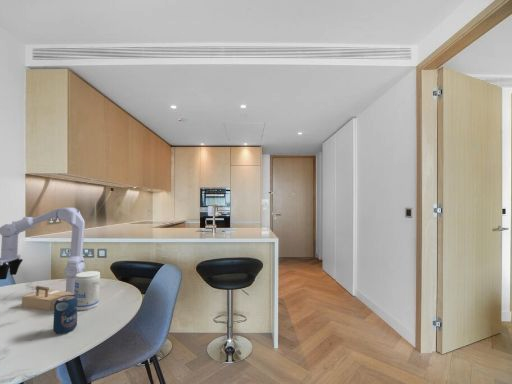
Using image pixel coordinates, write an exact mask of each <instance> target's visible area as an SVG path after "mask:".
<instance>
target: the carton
mask: <svg viewBox="0 0 512 384" xmlns="http://www.w3.org/2000/svg"><path fill="white" fill-rule="evenodd" d="M34 293H36V291H35V292H34ZM39 293H40V294H45V290H39ZM48 295H56V296H65V295H72V292H66V290H65V291H63V290H56V289H55V290H53V289H49V290H48ZM56 301H57V299H55V300H52V301H45V300H38V299H30V298H23V297H22V298H21V307H22V308H29V309H36V310H44V311H54V304H55V302H56Z"/></svg>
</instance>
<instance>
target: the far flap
mask: <svg viewBox="0 0 512 384" xmlns="http://www.w3.org/2000/svg"><path fill="white" fill-rule="evenodd" d="M41 290H45V294H40V293H39V291H41ZM48 290H50V287H48V286H43V285H42V286H41V285H36V286H35V292H36V293H35V292H32V293H29V294H26V295H23V296H22V298H30V299H38V300H45V301H52V300H55V299H57V298H59V297H61V296H56V295H48Z"/></svg>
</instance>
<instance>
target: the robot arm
mask: <svg viewBox="0 0 512 384" xmlns="http://www.w3.org/2000/svg"><path fill="white" fill-rule="evenodd" d="M51 219H59V220H61V221H64V222H65V223H68V224H69V225H70V226H71V227H72V230H71V241H70V251H69V258H68V260H67V264H66V267H65V268H64V275H66V278H65V279H66V281H65V292H72V295H74V287H75V277H76V274H78V273H82V272H84V270H85V268H86V263H85V260H84V259H85V258H84V256H83V252H84V249H83V248H84V239H85V238H84V236H85V227H86V226H85V225H86V222H85V220H84V217H83V216H82V214H81V211H80V210H79V209H77V208H76V207H74V206H70V207H61V208H57V209H54V210H53V209H52V210H50V211H48V212H44V213H43V214H40V215H37V216H36V217H32V216H24V217H22V218H21V219H20V220H19V219H18V220H14V221H13V220H12V222H11V223H5V224H4V225H1V227H0V236H1V252H0V280H7V278H8V275H9V274H10V276H14V275H17V273H18V271H19V267H20V265H21V264H22V263H23V260H24V259H22V256H21V254H18V251H19V250H18V247H19V245H18V244H19V234H20V233H22V232H26V231H28V230H32V229H34V228H36V226H37V224H40V223H42V222H45V221H48V220H51ZM8 272H9V274H8Z"/></svg>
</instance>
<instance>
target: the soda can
mask: <svg viewBox="0 0 512 384" xmlns="http://www.w3.org/2000/svg"><path fill="white" fill-rule="evenodd" d="M77 305H78V300H77V298H76V295H65V296H61V297H59V298H57V301H56V302H55V304H54V309H53V326H52V327H53V328H52V330H53V332H54V333H55V335H58V336H60V335H61V336H62V335H67V334H69V333H72V332H73V331H75V329H76V328H77V326H78V310H77Z"/></svg>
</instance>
